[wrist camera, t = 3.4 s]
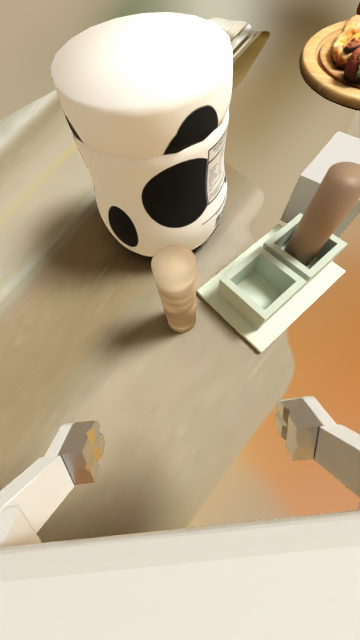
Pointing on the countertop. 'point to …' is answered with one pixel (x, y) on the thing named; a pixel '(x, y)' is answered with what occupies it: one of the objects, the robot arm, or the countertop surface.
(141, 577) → the robot arm
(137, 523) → the countertop surface
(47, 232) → the countertop surface
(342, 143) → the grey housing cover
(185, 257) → the beech peg
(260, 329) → the pin board
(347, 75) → the wooden plate with food
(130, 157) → the milk container
